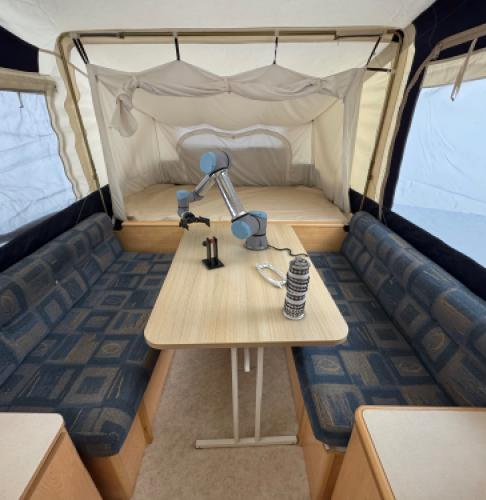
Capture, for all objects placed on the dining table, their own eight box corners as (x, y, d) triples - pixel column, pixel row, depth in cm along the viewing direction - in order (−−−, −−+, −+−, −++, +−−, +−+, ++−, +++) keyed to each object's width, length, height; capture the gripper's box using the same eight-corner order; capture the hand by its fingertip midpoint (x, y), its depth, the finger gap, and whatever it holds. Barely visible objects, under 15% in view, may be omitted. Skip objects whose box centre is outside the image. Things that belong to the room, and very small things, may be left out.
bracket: (201, 261, 154) (200, 236, 147) (216, 258, 157) (215, 233, 151) (208, 269, 145) (207, 243, 138) (223, 266, 148) (223, 240, 142)
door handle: (267, 263, 152) (293, 285, 131) (252, 267, 148) (276, 290, 127) (267, 259, 150) (293, 280, 130) (252, 263, 147) (276, 285, 126)
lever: (202, 247, 157) (200, 241, 157) (207, 246, 158) (206, 240, 158) (210, 244, 143) (208, 238, 143) (216, 243, 145) (215, 237, 145)
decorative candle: (278, 314, 111) (283, 261, 100) (287, 303, 118) (293, 253, 107) (299, 323, 106) (307, 268, 95) (307, 311, 113) (315, 258, 102)
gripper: (206, 219, 185) (218, 229, 168) (170, 225, 174) (179, 235, 157) (205, 209, 182) (217, 217, 165) (169, 214, 171) (178, 223, 154)
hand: (199, 226), depth 161 cm, fingers open, 13 cm apart
